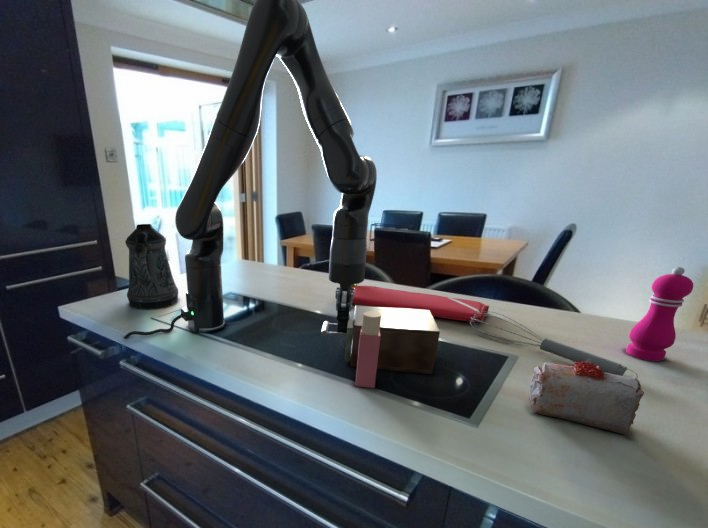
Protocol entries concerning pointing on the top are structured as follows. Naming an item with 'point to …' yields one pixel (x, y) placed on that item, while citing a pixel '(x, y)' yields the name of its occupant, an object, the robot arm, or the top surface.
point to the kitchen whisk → (563, 350)
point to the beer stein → (149, 270)
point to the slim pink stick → (368, 350)
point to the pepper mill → (660, 317)
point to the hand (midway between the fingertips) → (342, 334)
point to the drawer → (348, 334)
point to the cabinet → (401, 339)
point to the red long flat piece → (420, 303)
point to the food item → (586, 395)
